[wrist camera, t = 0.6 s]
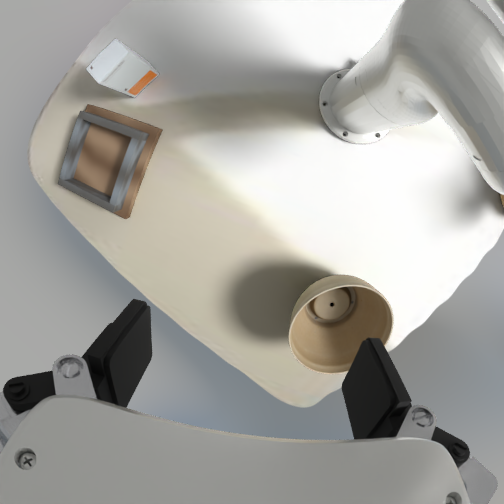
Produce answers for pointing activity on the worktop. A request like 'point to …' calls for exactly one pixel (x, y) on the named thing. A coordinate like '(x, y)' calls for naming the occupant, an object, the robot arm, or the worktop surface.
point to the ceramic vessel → (502, 199)
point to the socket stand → (108, 158)
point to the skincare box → (122, 69)
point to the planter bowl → (337, 322)
